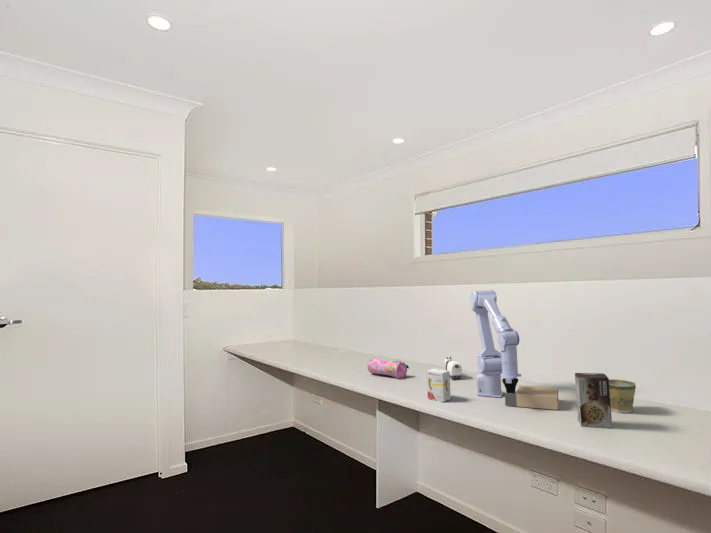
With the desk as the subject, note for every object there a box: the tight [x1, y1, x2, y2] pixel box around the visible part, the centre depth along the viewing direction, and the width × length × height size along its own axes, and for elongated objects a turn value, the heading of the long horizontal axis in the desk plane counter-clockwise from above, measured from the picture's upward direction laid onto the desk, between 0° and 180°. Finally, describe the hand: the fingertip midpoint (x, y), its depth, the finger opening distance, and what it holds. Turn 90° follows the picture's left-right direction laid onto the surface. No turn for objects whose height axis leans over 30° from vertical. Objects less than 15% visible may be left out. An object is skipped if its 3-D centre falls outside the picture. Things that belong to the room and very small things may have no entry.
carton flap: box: [504, 392, 559, 411], centre depth 156 cm, size 18×1×5 cm, turn 65°
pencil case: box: [366, 357, 410, 380], centre depth 217 cm, size 21×9×9 cm, turn 47°
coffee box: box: [574, 372, 613, 429], centre depth 137 cm, size 9×6×16 cm
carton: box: [516, 384, 559, 411], centre depth 161 cm, size 14×12×5 cm
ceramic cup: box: [609, 378, 637, 414], centre depth 150 cm, size 13×10×10 cm
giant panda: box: [443, 356, 463, 381], centre depth 209 cm, size 15×6×10 cm, turn 9°
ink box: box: [426, 367, 452, 403], centre depth 172 cm, size 9×5×12 cm, turn 41°
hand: (511, 398), depth 160 cm, fingers closed
